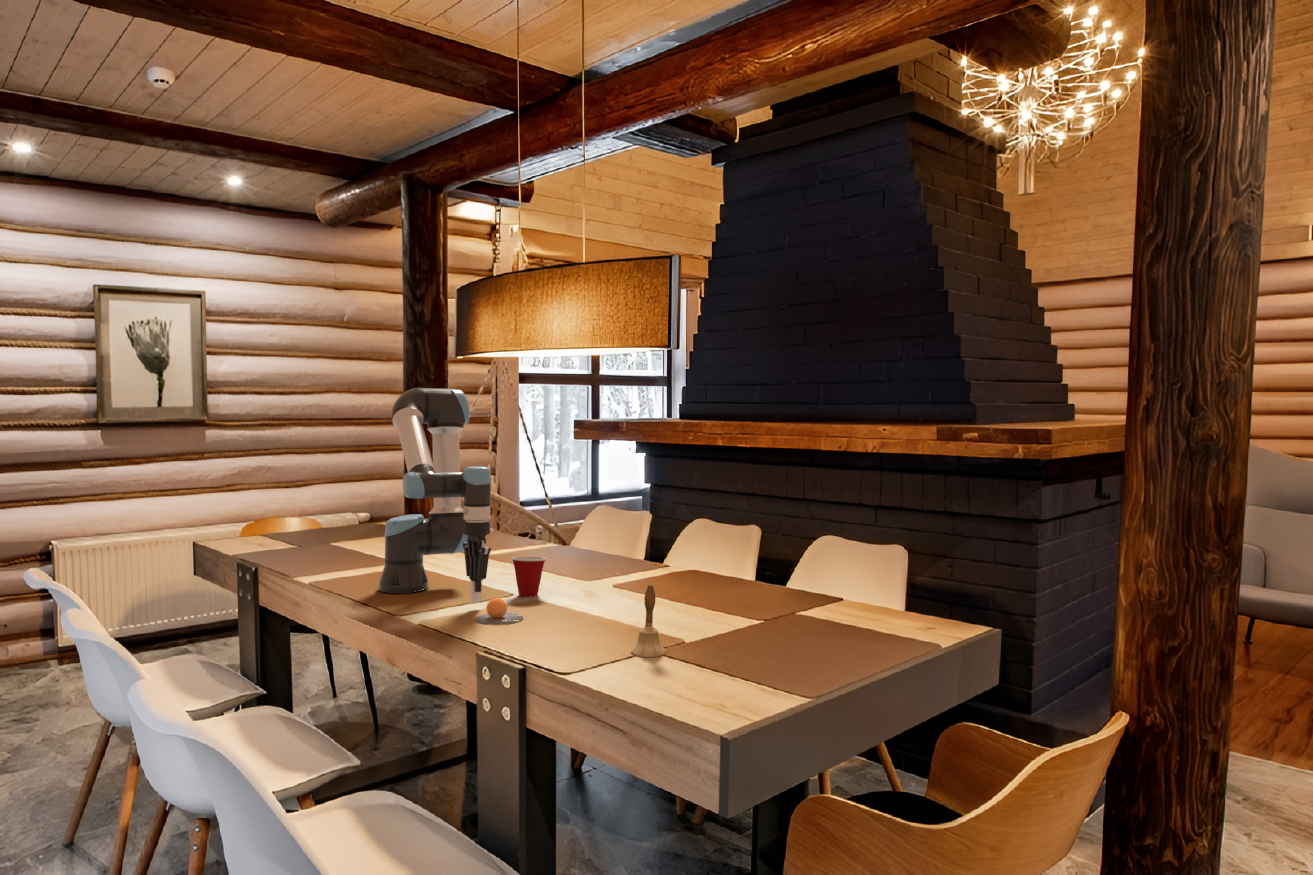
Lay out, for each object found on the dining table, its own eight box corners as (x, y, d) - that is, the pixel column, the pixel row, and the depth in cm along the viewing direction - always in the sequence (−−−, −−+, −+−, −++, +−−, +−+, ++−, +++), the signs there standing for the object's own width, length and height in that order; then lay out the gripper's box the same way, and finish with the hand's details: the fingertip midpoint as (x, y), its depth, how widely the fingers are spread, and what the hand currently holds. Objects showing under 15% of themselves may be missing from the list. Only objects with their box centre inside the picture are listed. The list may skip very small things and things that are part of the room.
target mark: (466, 617, 222) (466, 616, 222) (508, 611, 230) (508, 610, 230) (488, 627, 212) (488, 626, 212) (532, 620, 220) (532, 619, 220)
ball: (487, 623, 221) (481, 605, 223) (504, 620, 224) (498, 603, 227) (494, 613, 217) (488, 595, 220) (512, 610, 221) (506, 593, 223)
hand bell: (646, 645, 197) (647, 580, 197) (672, 652, 192) (674, 585, 192) (623, 653, 191) (624, 585, 190) (650, 660, 186) (651, 590, 185)
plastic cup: (549, 592, 257) (550, 554, 257) (541, 599, 246) (541, 560, 246) (516, 590, 258) (516, 553, 258) (506, 598, 247) (507, 559, 247)
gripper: (454, 519, 234) (453, 600, 235) (475, 524, 224) (474, 608, 224) (478, 517, 239) (477, 597, 239) (499, 522, 229) (498, 605, 229)
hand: (475, 602), depth 232 cm, fingers closed
